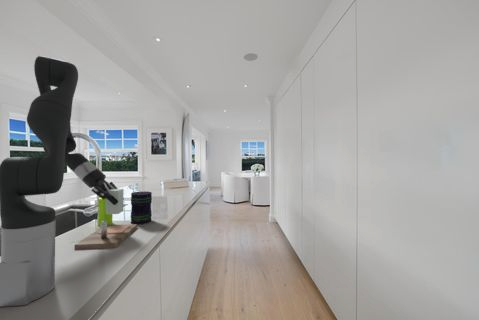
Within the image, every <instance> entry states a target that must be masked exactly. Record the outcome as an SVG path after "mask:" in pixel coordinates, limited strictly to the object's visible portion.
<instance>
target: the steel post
mask: <svg viewBox="0 0 479 320" xmlns="http://www.w3.org/2000/svg"><path fill="white" fill-rule="evenodd" d="M100 228H101V239H105V238H107V221H101V226H100Z"/></svg>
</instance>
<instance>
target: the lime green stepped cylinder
mask: <svg viewBox="0 0 479 320" xmlns="http://www.w3.org/2000/svg"><path fill="white" fill-rule="evenodd" d="M97 207H98V209H97V210H98V211H97V212H98V213H97V214H98V217H97V219H98V220H97V223H98V224H97V225H98V226H99V227H101V221H107V225H113V214H106V199H102V198H101V197H98V206H97Z"/></svg>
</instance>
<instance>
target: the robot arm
mask: <svg viewBox="0 0 479 320" xmlns="http://www.w3.org/2000/svg"><path fill="white" fill-rule="evenodd" d="M33 68H34V69H33V70H34V77H35V81H36V84H37V89H38V92H39V96H36V98H34V99H33V100H32V101H31V103H30V105H29V106H30V107H29V110H28V113H27V116H26V123H27V126H28V127H29V130H30V131H31V132H32V133H33V134H34V135H35V136H36V138H38V140H39V141H40V142H41V143H42V144H43V147H42V148H43V151H44V153H45V154H47V156H45V157H43V156H41V157H40V156H39V157H36V156H32V157H31V156H12V157H6V158H4V159H3V160H2V161H1V163H0V221H1V224H0V227H1V229H0V231H1V233H0V234H1V237H0V238H1V239H0V241H1V242H0V243H1V244H0V307H1V308H2V307H13V306H14V307H15V306H26V305H29V304H31V302H33V301H35V300H38V299H40V298H42V297H44V296H46V295H47V294H48V293H50V292H51V291H52V290H53V289H54V288H55V286H56V285H55V282H56V280H55V279H56V217H57V216H56V210H55V209H54V208H53V207H50V206H46V205H40V204H37V203H34V202H31V201H29V200H28V199H27V198H26V197H25V196H37V195H38V196H39V195H50V194H56V193H58V192H59V191H60V190H61V189H62V186H63V182H64V176H65V166H66V167H68V168H69V169H70V170H71V172H73V173H74V175H75V176H77V178H79V180H81V182H83V183H84V184H85V185H86V186H87V187H88V188H91V190H90V191H91V192H92V193H94V194H95V195H97V196H98V198H102V199H108V200H109V201H110V202H111V203H112V204H113V205H116V204H117V203H118V200H117V199H116V198H115V197H114V196H112V194H111V193H110V192H109V191H110V189H119V188H118V187H117V186H116V185H115V184H114V182H112V181H110V182H108V181H106V180H105V179H106V178H107V177H106V176H107V175H106V174H104V173H103V171H102V170H100V168H98V167H97V166H96V165H95V164H94V163H93V162H91V161H90V160H88V158H86V157H85V156H84V155H83V154H82V153H79V152H75V153H72V152H74V151H75V150H76V148H77V143H76V140H75V138H74V136H73V133H72V130H71V127H72V126H71V117H72V112H73V110H72V109H73V100H74V96H75V93H76V88H77V86H78V81H79V71H78V68H77V66H76V65H75V64H73V63H71V62H70V61H65V60H62V59H58V58H57V59H56V58H53V57H49V56H45V55H38V56H37V57H36V58H35V60H34V66H33ZM52 87H55V88H52ZM124 200H125V198H124V197H123V201H124Z"/></svg>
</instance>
